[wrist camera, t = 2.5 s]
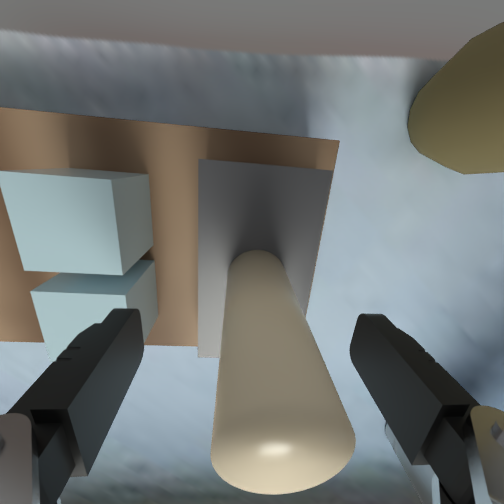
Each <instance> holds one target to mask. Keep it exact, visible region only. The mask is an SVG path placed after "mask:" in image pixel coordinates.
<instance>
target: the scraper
mask: <svg viewBox="0 0 504 504" xmlns="http://www.w3.org/2000/svg"><path fill="white" fill-rule="evenodd" d="M332 176H333V170H322V169H312V168H300V167H289V166H277V165H266V164H255V163H243V162H232V161H220V160H209V159H198V357H210V358H220V360H219V370H218V381H217V391H216V402H215V412H214V423H213V433H212V444H211V461H212V465H213V467H214V469H215V471H216V472H217V473H218V475H219V476H220V477H221V478H222V479H224V480H225V481H226V482H228V483H229V484H231V485H233V486H235V487H237V488H239V489H242V490H245V491H249V492H254V493H260V494H286V493H293V492H298V491H302V490H305V489H309V488H311V487H314V486H317V485H319V484H321V483H323V482H325V481H327V480H328V479H330V478H332V477H333V476H334V475H336V474H337V473H338V472H339V471H341V470H342V469H343V468H344V466H345V465H346V464H347V463H348V461H349V460H350V458H351V457H352V454H353V452H354V449H355V442H356V439H355V433H354V431H353V428H352V426H351V423H350V421H349V419H348V416H347V414H346V412H345V409H344V407H343V405H342V402H341V400H340V398H339V395H338V393H337V391H336V388H335V386H334V384H333V381H332V379H331V377H330V374H329V372H328V370H327V367H326V365H325V363H324V360H323V358H322V356H321V353H320V351H319V349H318V346H317V344H316V342H315V339H314V337H313V335H312V332H311V330H310V328H309V325H308V323H307V321H306V318H305V315H306V310H307V305H308V300H309V295H310V290H311V284H312V279H313V274H314V269H315V264H316V258H317V253H318V248H319V243H320V238H321V233H322V227H323V222H324V217H325V212H326V207H327V201H328V196H329V191H330V186H331V181H332Z"/></svg>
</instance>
